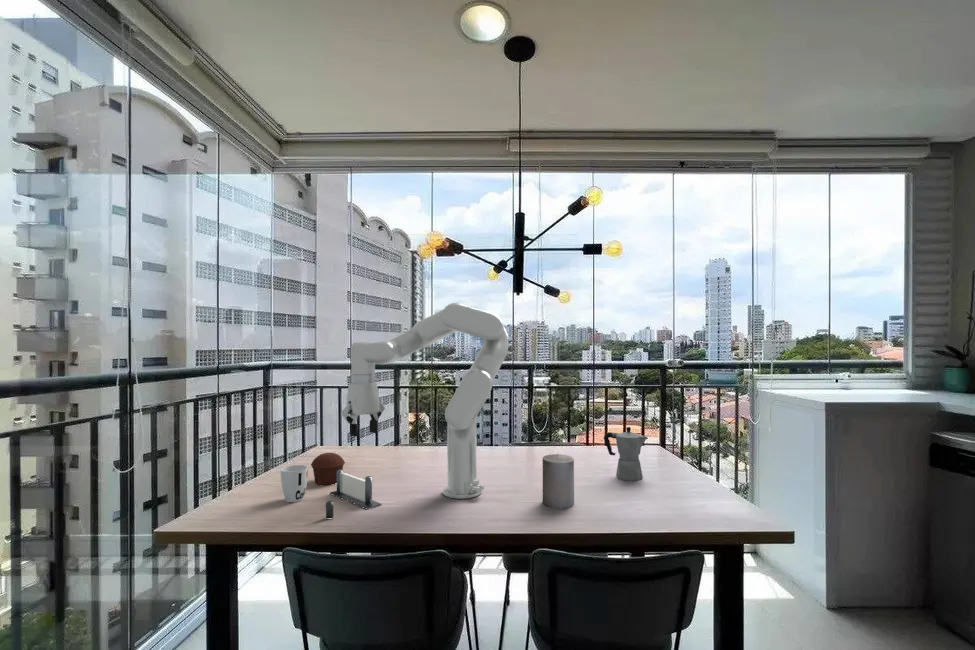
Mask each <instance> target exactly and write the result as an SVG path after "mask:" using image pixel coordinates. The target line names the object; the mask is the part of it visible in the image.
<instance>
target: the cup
mask: <svg viewBox="0 0 975 650" xmlns="http://www.w3.org/2000/svg"><path fill="white" fill-rule="evenodd" d="M308 471H309V466H308V465H305V464H294V465H287V466H284V467H281V468H280V481H281V482H280V483H281V487H282V493H283V497H284V499H285V502H286V503H289V502H293V503H298V501H299V502H302V501H303V500H304V498H305V494H306V490H307V485H308V484H307V483H308Z"/></svg>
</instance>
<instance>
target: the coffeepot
mask: <svg viewBox="0 0 975 650" xmlns="http://www.w3.org/2000/svg"><path fill="white" fill-rule="evenodd" d="M625 429H626V431H625V432H620V433H618V432H610V431H609V432H607V433H606V434H605V435H604V436H603V441H604V444H605V445H606V449H607V451H608V454H609V455H610V456H616V452H613V449H612V446H611V441H610V438H612V439H615V441H616V448H617V453H618V454H619V458H618V460H617V461H618V462H617V468H616V474H615V476H616V477H617V478H618V479H619V480H623V481H627V482H628V481H631V482H636V481H640V480H643V478H644V476H643V471H642V466H641V461H640V457H639V456H640V454H641V450H642V449H641V448H642V447H643V445H644V443H645V442H646V441H647V440H648V439H649V438H648V436H646V435H642V434H638V433H635V432H631V427H630V426H626V427H625Z"/></svg>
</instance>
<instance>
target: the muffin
mask: <svg viewBox="0 0 975 650" xmlns="http://www.w3.org/2000/svg"><path fill="white" fill-rule="evenodd" d="M345 464H346V462H345V460H344V459H343V458H342V456H341V455H339V454H338V453H335V452H323V453H321V454H319V455H318V456H316V457H315V458H314V459H313V460H312V462H311V464H310V466H311V467H312V473H313V477H314V483H315V485H316V484H317V485H316V486H320V485H329V486H332V485H331V484H334V485H336V484H335V483H337V470H343V471H344V465H345Z"/></svg>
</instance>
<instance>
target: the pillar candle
mask: <svg viewBox="0 0 975 650" xmlns="http://www.w3.org/2000/svg"><path fill="white" fill-rule="evenodd" d="M542 504H543V505H544V506H547V507H549V508H554V509H565V508H571V507H572V506H573V505H575V458H574V457H573V456H570V455H566V454H562V453H561V454H560V453H556V454H555V453H551V454H547V455H544V456H542Z"/></svg>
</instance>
